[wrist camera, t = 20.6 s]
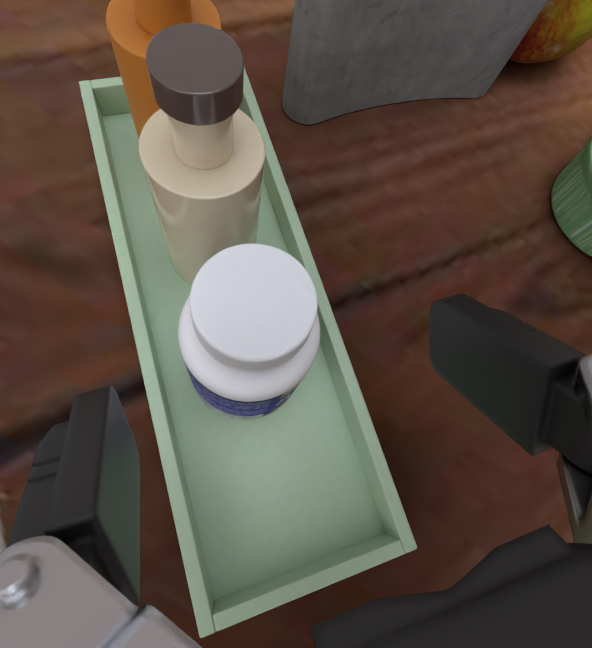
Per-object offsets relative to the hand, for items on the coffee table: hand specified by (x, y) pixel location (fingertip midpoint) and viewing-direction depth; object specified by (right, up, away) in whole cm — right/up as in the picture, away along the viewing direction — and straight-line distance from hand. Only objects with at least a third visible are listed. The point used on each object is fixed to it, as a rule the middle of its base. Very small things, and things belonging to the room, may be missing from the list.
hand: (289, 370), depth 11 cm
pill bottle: (-2, -1, +11) cm, 11 cm away
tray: (-4, +2, +13) cm, 13 cm away
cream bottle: (-4, +5, +13) cm, 14 cm away
